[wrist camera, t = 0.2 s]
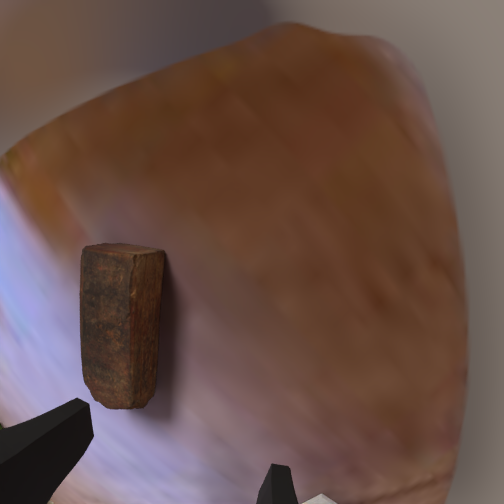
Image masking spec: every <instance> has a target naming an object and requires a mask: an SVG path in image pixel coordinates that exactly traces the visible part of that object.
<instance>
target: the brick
mask: <svg viewBox="0 0 504 504" xmlns="http://www.w3.org/2000/svg"><path fill="white" fill-rule="evenodd" d="M164 260H165V253H164V250H161V249H155V248H149V247H142V246H137V245H130V244H122V243H117V244H108V243H102V244H97V245H92V246H85V247H84V248H83V250H82V255H81V275H80V339H81V359H82V371H83V378H84V382H85V385H87V387H88V389H89V390H90V392H91V395H92V397H93V398H94V400H95V401H97V402H99V403H101V404H102V405H103V406H105V407H106V408H108V409H134V408H136V409H138V408H144V407H145V406H146V405H147V403H148V401H149V400H150V399H151V398H152V397H153V396H154V392H155V383H156V371H157V357H158V341H159V320H160V305H161V295H162V280H163V268H164Z"/></svg>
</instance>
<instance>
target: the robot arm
mask: <svg viewBox="0 0 504 504" xmlns="http://www.w3.org/2000/svg"><path fill="white" fill-rule="evenodd" d="M93 437H94V433H93V427H92V420H91V413H90V405H89V403H87V402H85V401H83V400H81V399H79V398H75V399H73V400H71V401H69V402H67V403H65V404H63V405H61V406H59V407H57V408H55V409H53V410H51V411H48V412H46V413H44V414H42V415H40V416H37V417H35V418H33V419H30V420H28V421H25V422H23V423H20V424H17V425H15V426H12V427H8V428H5V429H1V430H0V504H47V503H48V501H49V500H50V498H51V496H52V495H53V493H54V492H55V490H56V489H57V488H58V486H59V485H60V484H61V482H62V481H63V480H64V479H65V477H66V476H67V475H68V474H69V472H70V471H71V470H72V469H73V468H74V466H75V465H76V464H77V462H78V461H79V460H80V459H81V457H82V456H83V455H84V453H85V451H86V450H87V448H88V446H89V444H90V443H91V441H92V439H93ZM256 504H298V501H297V497H296V494H295V490H294V486H293V481H292V476H291V470H290V468H289V466H283V465H278V464H271V466H270V469H269V471H268V473H267V475H266V477H265V480H264V482H263V484H262V486H261V488H260V490H259V494H258V498H257V503H256Z"/></svg>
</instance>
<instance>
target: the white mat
mask: <svg viewBox="0 0 504 504" xmlns="http://www.w3.org/2000/svg"><path fill="white" fill-rule="evenodd" d="M302 504H337V503H335V502H334V501H332V500H331V499H329V498H328V497H326V496H325V495H324V494H322V493H321V494H319V495H318V496H316V497H314V498H312V499H310V500H308V501H306V502H304V503H302Z"/></svg>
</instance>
